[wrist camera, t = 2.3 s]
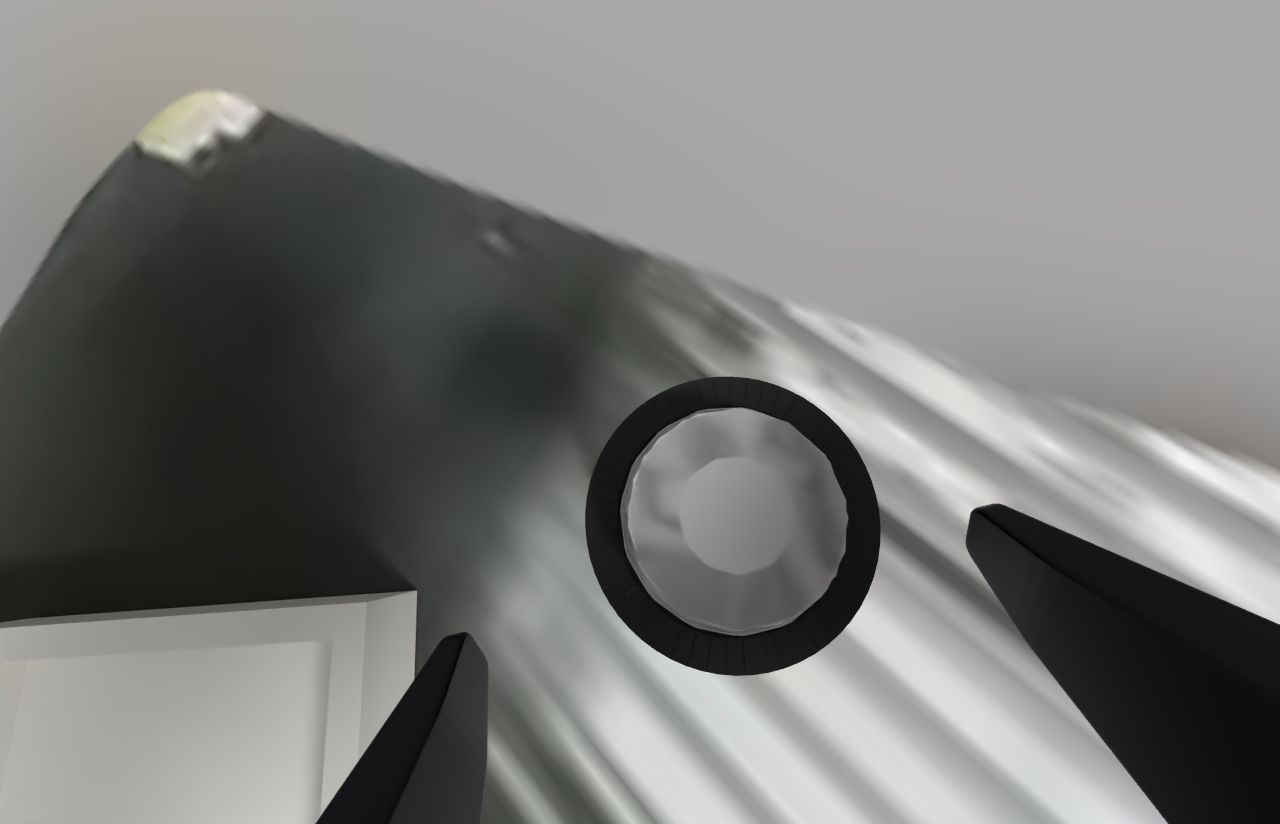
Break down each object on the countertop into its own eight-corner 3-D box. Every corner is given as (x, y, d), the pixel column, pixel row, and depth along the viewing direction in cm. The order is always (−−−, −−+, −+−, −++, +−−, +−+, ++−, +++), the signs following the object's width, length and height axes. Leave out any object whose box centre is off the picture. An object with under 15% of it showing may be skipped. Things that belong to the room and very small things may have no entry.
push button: (571, 527, 18) (449, 523, 8) (647, 406, 19) (618, 275, 9) (730, 632, 17) (806, 772, 7) (804, 498, 18) (961, 460, 8)
